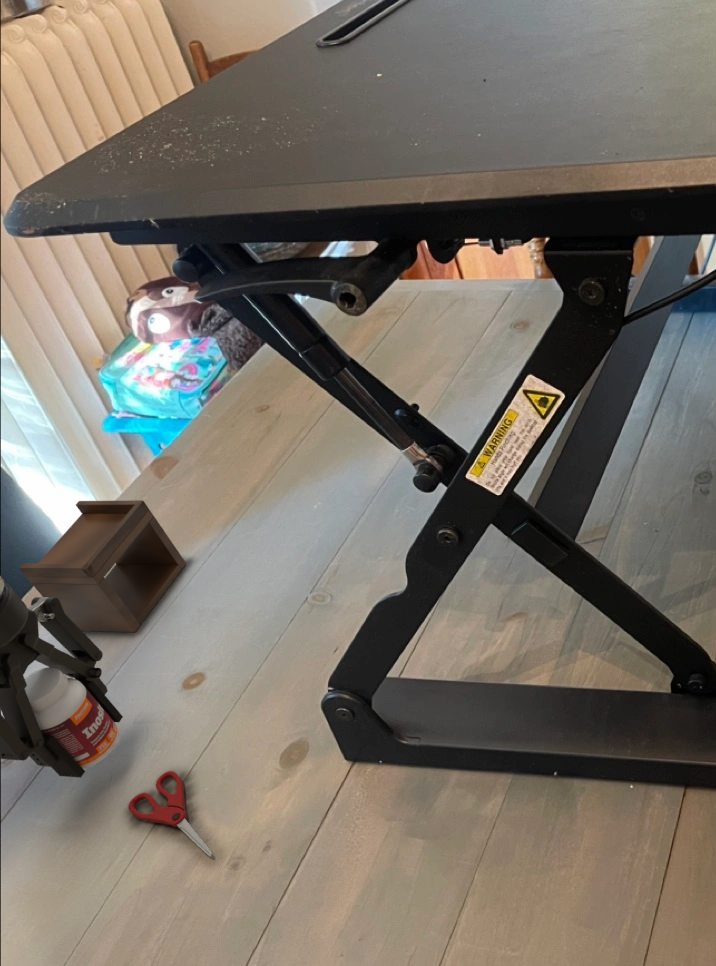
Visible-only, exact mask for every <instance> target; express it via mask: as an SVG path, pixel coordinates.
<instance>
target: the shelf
mask: <svg viewBox="0 0 716 966" xmlns="http://www.w3.org/2000/svg"><path fill="white" fill-rule="evenodd" d="M75 507H77V509H78V510H79V512H80V513H81V514H80V516H79V517H78V518H77V519H76V520H75V521H74V522H73V523H72V524H71V525H70V527H69V528H68V529H66V531H65V532H64V533H63V535H62V536H61V537H60V538H59V539H58V540H57V541H56V542H55V544H54V545H52V547H51V548H50V549H49V550H48V551H47V552H46V554H45V555H44V556H43V557H42V558H41V559H40V560H39V561H38V563H32V562H31V563H27V562H25V563H22V564H21V565H20V566H19V567H18V569H19V570H20V571H21V573H22V574H23V575H24V576H25V578H26V579H27V580H28V581H29V583H31V585H33V587H34V588H35V589H36V591H37V592H38V593H39V594H40V595H41V597H50V598H58V599H59V600H60V603H61V605H62V608H63V610H64V613H65V614H66V615H67V616H68V617H69V618H70V619H71V620H72V621H73V622H74V623H75V624H76V626H77V627H78V628H79V629H80V630H81V631H82V632H115V633H116V632H117V633H118V632H119V633H136V632H137V631H138V630H139V628H140V627H141V626H142V624H143V622H144V621H145V620H146V619H147V617H148V616H149V615H150V613H151V612H152V610H153V609H154V608H155V607H156V606H157V604H158V602H159V601H160V600H161V598H162V597H163V596H164V595H165V593H166V592H167V591H168V589H169V588H170V586H171V585H172V584H173V582H174V581H175V580H176V579H177V577H178V576H179V574H180V573H181V572H182V570H183V569H184V567H185V566H186V565H187V562H186V560H185V559H184V557H183V556H182V555H181V553H180V552H179V550H178V548H177V547H176V546H175V545H174V543H173V541H172V540H171V538H170V537H169V536H168V534H167V533H166V531H165V530H164V529H163V527H162V526H161V524H160V523H159V521H158V519H157V518H156V517H155V515H154V514H153V512H152V511H151V509H150V508H149V506H148V505H147V504H146V502H145V501H144V500H143V499H142V500H140V499H139V500H136V499H135V500H78V502H77V503H76V504H75Z"/></svg>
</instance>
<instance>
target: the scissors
mask: <svg viewBox="0 0 716 966" xmlns="http://www.w3.org/2000/svg"><path fill="white" fill-rule="evenodd" d="M170 778H173V779H174V781H175V783H176V791H175V792H174V793H170V792H169V791H168V790H166V789H165V788H164V787H163V785H164V783H165V782H166V781H167V780H168V779H170ZM184 786H185V785H184V782H183V780H182V778H181V776H179V774H177V772H176V771H172V770H171V771H170V770H169V771H166V772H164V773H162V774H161V775H160V776H159V777H158V778H157V779H156V781H155V789H156V790H157V791H158V792H159V793H160V794H161V795H162V796H163V797H164V798H166V799H167V805H166V806H159V804H158V802H157V801H156V800H155V799H154V797H153V796H152V795H151V794H150V793H147V792H141V793H139V794H137V795H135V796H134V797H132V799H130V801H129V803H128V810H129V811H130V813H131V814H132V815H133V817H135V818H136V819H138V820H141V821H146V822H152V823H156V824H157V823H158V824H163V825H167V826H172V827H174V828H178V829H180V830H181V831H182V832H183V833H184V834H185V835H186V836H187V837H188V838H189V839H190V840H191V841H192V842H193V843H194V844H195V845H196V846H197V847H198V848H200V849H201V850H202V852H204V853H205V854H206V855H208V857H210V858H211V857H213V852H212V851H211V849H210V848H209V847H208V845H207V844H206V843H205V841H204V840H203V839H202V838H201V836H200V835H199V834H198V833H197V832H196V830H195V829H194V828H193V826H191V824H190V823H189V822H188V820H187V819H188V814H187V811H186V801H185V787H184ZM145 800H146V801H148V803H149V804H150V806H151V807H152V809H153V811H152V812H151V813H143V812H140V811H138V810H137V808H136V807H137V805H138V804H139V803H140V802H142V801H145Z"/></svg>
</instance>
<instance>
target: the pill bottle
mask: <svg viewBox="0 0 716 966" xmlns="http://www.w3.org/2000/svg"><path fill="white" fill-rule="evenodd" d="M24 679H25V681H26V684H27V687H26V688H25V692H26V694H27V697H28V699H29V702H30V705H31V707H32V710H33V712H34V715H35V717H36V720H37V722H38V725H39V728H40V730H41V733H42V735H49V736H53V737H54V738H55V739H56V740H57V741H58V742H59V744H60V745H61V746H62V747H63V748H64V749H65V750H66V751H67V752H68V753H69V754H70V755H71V757H72V758H73V759H74V760H75V761H76V762H77V763H78V764H79V765H80V766H81V767H82V768H83V770H85V769H88V768H91V767H93V766H95V765H97V764H99V763H100V762H102V761H103V760H104V759H105V758H107V757H108V756H109V755H110V754H111V753H112V752H113V750H114V749H115V747H116V746H117V743H118V741H119V738H120V730H119V727H118V725H117V724H116V722H114V721H113V720H112V719H111V718H110V717H109V715H108V714H107V713H106V712H105V711H104V709H103V708H102V707H101V706H100V705H99V703H98V702H97V701H96V700H95V699H94V697H93V696H92V695H91V694H90V692H89V691H88V690H87V689H86V688H85V686H84V685H83V684H82V683H81V682H79V681H78V680H76V679H75V678H72V677H67V675H65V674H63V673H62V672H61V671H60V670H59V669H57V668H54V667H48V666H47V667H44V668H40V669H38V670H36V671H34V672H32V673H30V674H29V675H27V676H26V677H24Z"/></svg>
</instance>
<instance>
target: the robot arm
mask: <svg viewBox="0 0 716 966" xmlns="http://www.w3.org/2000/svg"><path fill="white" fill-rule="evenodd" d="M39 624H40V625H41V626H42V627H43V628H44V629H45V630H46V631H47V632H48V633H49V634H50V635H51V636H52V637H53V638H54V639H55V640H56V641H57V642H58V643H59V644H60V645H61V646H62V647H63V648H64V649H65V650H66V651H67V652H68V653H69V654H68V653H66V652H64V651H62V650H60V649H58V648H56V647H55V645H54V644H52V643H50V642H48V641H46V640H44V639H42V638H40V631H39ZM103 655H104V653H103V651H102V650H101V649H100V648H99V647H98V646H97V645H96V644H95V643H94V642H93V641H92V640H91V638H89V636H87V635H86V633H84V631H81V630H80V629H79V628H78V627H77V626H76V624H75V623H74V622H73V621H72V620H71V619H70V618H69V617H68V616H67V615H66V614H65V613H64V610H63V608H62V605H61V603H60V600H59V599H58V598H50V597H42V596H41V597H40V596H35V597H33V598H32V599H31V602H30V606H29V607H28V606H27V604H26V603H25V602H24V601H23V599H22V598H21V597H20V596H19V595H18V594H17V593H16V591H15V590H14V589H13V588H12V586H10V584H9V583H7V582H5V580H4V578H3V577H2V576H1V575H0V711H1V713H0V759H1V760H9V761H10V760H11V761H23V762H24V761H26V760H27V759H28V758H30V759H31V760H32V761H33V762H34V763H35V764H36V765H37V766H39V767H46V768H47V767H48V768H51V769H52V770H54V772H55V773H56V774H57V775H58V776H59V777H69V778H80V779H81V778H82V777H83V776H84V775H85V773H86V771H85V769H83V768H82V767H81V766H80V765H79V764H78V763H77V762H76V761H75V760H74V759H73V758H72V757H71V755H70V754H69V753H68V752H67V751H66V750H65V749H64V748H63V747H62V746H61V745H60V744H59V742H58V741H57V740H56V739H55V738H54V737H53V736H49V735H42V733H41V730H40V728H39V725H38V722H37V720H36V717H35V715H34V712H33V710H32V707H31V705H30V702H29V699H28V697H27V694H26V692H25V688H26V687H27V684H26V681H25V677H24V675H25V673H26V671H27V669H28V667H29V666H30V665H31V664H32V663H34V662H35V661H36V662H38V663H40V664H42V665H44V666H46V667H47V668H48V667H54V668H57V669H59V670H60V671H61V672H62V673H63V674H64V675H65V676H66V677H68V678H73V679H76V680H78V681H79V682H81V683H82V684H83V685H84V686H85V688H86V689H87V690H88V691H89V692H90V694H91V695H92V696H93V697H94V699H95V700H96V701H97V702H98V703H99V705H100V706H101V707H102V708H103V709H104V711H105V712H106V713H107V714H108V715H109V717H110V718H111V719H112V720H113V721H114V722H115V723H117V724H118V723H120V722H121V720H122V719H123V718H124V716H123V714H121V712H120V711H119V710H118V709H117V707H116V706H115V705H114V704H113V703H112V702H111V701H110V700H109V699H110V698H108V697H107V696H106V694H107V693H108V691H109V689H108V687H107V686H106V684H105V683H104V682H103V680H101V676H102V673H103V671H102V668H101V667H96V664H97V662H100V661H101V660H102V659H103Z"/></svg>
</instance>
